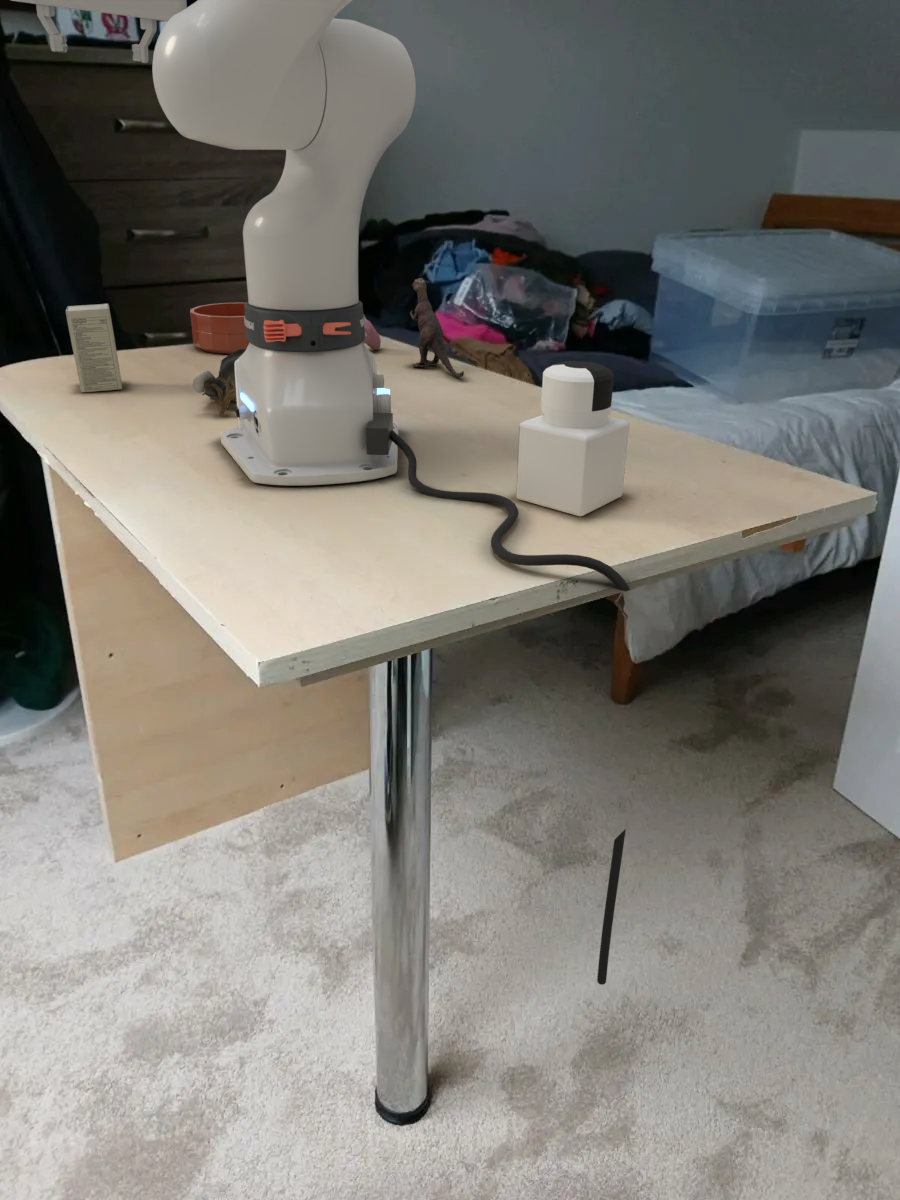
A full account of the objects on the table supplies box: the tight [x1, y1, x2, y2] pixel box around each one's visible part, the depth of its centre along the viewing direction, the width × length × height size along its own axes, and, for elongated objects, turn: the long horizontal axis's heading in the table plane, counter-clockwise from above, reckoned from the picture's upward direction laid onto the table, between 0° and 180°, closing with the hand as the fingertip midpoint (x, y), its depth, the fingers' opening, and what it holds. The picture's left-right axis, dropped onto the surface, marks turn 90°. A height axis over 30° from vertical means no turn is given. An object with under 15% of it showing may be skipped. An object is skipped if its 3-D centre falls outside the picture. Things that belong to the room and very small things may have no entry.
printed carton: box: [65, 303, 123, 393], centre depth 118 cm, size 5×4×10 cm
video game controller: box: [363, 317, 382, 351], centre depth 142 cm, size 10×5×7 cm, turn 73°
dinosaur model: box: [409, 277, 465, 378], centre depth 129 cm, size 4×12×15 cm
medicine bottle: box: [515, 360, 630, 517], centre depth 83 cm, size 7×7×12 cm
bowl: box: [189, 302, 249, 355], centre depth 144 cm, size 13×13×6 cm
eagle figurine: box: [192, 349, 246, 417], centre depth 111 cm, size 8×7×9 cm
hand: (100, 57), depth 112 cm, fingers open, 8 cm apart
